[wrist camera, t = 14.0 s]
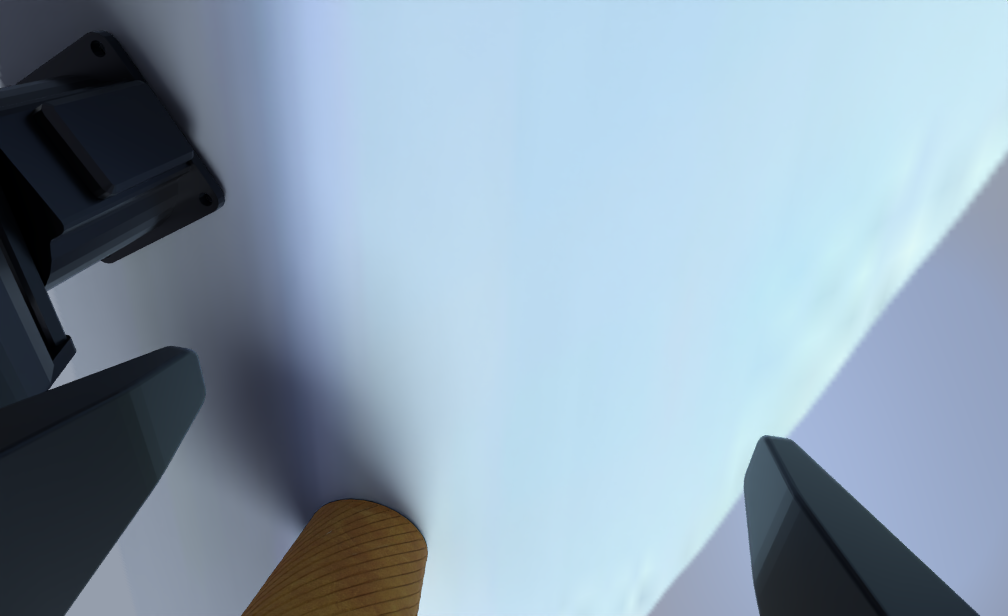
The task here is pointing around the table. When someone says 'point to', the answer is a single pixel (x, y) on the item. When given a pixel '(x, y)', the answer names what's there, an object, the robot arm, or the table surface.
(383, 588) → the disposable coffee cup
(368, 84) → the table surface
